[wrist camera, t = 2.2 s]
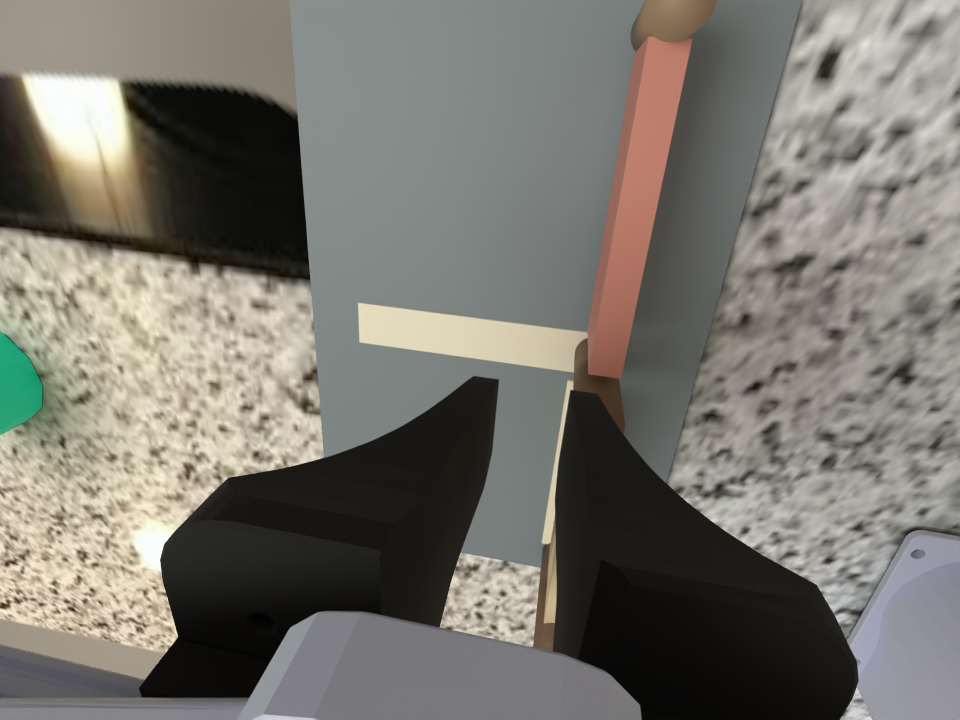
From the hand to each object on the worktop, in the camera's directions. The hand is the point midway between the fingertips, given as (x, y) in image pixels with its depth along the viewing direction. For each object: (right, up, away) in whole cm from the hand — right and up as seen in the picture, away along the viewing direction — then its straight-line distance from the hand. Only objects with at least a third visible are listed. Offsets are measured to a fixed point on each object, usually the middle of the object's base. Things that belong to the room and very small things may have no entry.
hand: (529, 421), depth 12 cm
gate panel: (+4, +7, +5) cm, 10 cm away
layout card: (0, +2, +9) cm, 10 cm away
